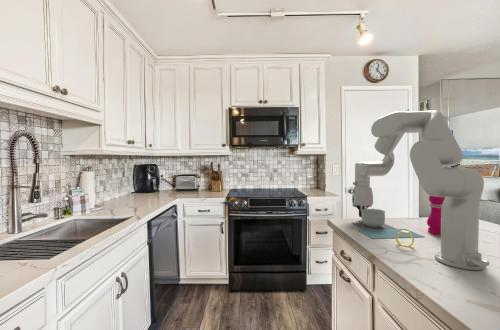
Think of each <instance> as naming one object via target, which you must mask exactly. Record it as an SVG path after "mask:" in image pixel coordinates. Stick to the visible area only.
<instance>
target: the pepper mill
mask: <svg viewBox="0 0 500 330" xmlns="http://www.w3.org/2000/svg"><path fill="white" fill-rule="evenodd" d="M444 199H445V197H434V196H431V195H429V196H428V201H429V202H430V203H429V207H431V208H430V209H431V210H430V213H429V216H428V217H427V219H426V224H427V226H428V228H427V232H428V233H429V234H433V235H436V236H437V235H438V236H441V209H442V204H443V201H444Z"/></svg>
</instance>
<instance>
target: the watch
mask: <svg viewBox="0 0 500 330" xmlns="http://www.w3.org/2000/svg"><path fill="white" fill-rule="evenodd" d="M409 231H410V230H409ZM409 231H405V230H401V232H399V233H398V234H397V235H396V238H395V241H396V243H397V244H398V245H399V246H401V247H407V248H410V247H411V246H413V244H414V242H415V239H414V238H415V237H413V236H412V235H411V234H410V233H409ZM401 233H403V234H408V235H410V236H411V240H412V242H411V243H410V244H403V243H401V242H400V241H399V238H397V236H398V235H399V234H401Z"/></svg>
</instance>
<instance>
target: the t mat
mask: <svg viewBox="0 0 500 330" xmlns="http://www.w3.org/2000/svg"><path fill="white" fill-rule="evenodd" d="M353 224H354V225H355V226H357V227H359V228H360V229H358V230H357V231H358V233H361V234H363V235H365V236H367V237H368V238H369V239H372V240H377V239H378V240H380V239H381V240H382V239H384V240H385V239H396V235H397V234H398V233H399V232H401V230H405V231H409V233H410V234H411V235H412V236H413V238H425V236H424V235H421V234H419V233H416V232H414V231H412V230H409V229H407V228H396V227H394V226H391V225H390V224H387V223H384V224H383V225H382V226H381V227H378V228H372V227H368V226H366V225H365V224H364V223H363V222H352V225H353ZM407 238H408V239H409V238H411V236H410V235H408V234H403V233H401V234H399V235H398V236H397V239H407ZM411 239H412V238H411Z"/></svg>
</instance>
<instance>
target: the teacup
mask: <svg viewBox="0 0 500 330" xmlns="http://www.w3.org/2000/svg"><path fill="white" fill-rule="evenodd" d="M361 215H362V218H361V221H362V222H361V223H364V224H365V225H366V226H368V227H372V228H378V227H381V226H382V225H383V224H386V223H385V222H386V211H385V210H382V209H377V208H367V209H364V210H361Z"/></svg>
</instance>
